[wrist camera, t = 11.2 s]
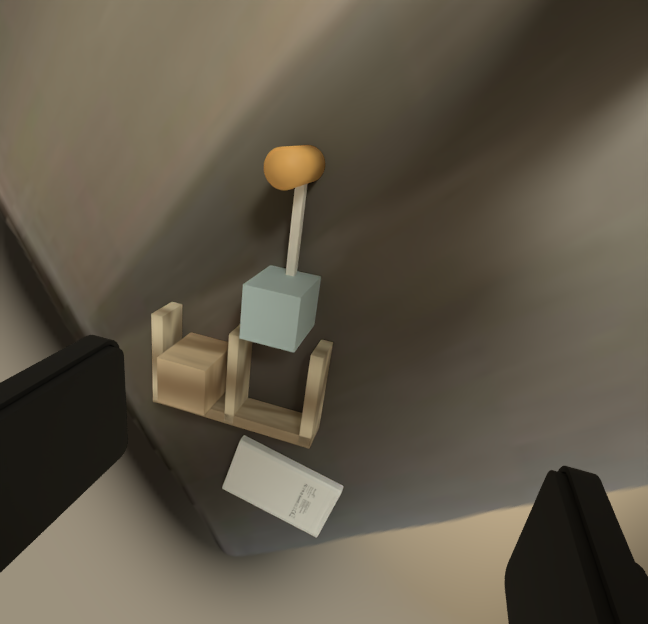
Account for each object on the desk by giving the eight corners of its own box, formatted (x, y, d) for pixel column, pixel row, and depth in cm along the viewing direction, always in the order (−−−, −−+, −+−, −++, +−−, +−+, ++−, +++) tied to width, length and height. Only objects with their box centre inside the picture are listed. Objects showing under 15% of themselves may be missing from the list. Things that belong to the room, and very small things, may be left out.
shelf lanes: (172, 301, 46) (151, 313, 43) (333, 342, 43) (323, 358, 40) (171, 384, 50) (153, 401, 47) (319, 427, 47) (309, 448, 44)
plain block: (191, 332, 47) (156, 357, 42) (234, 343, 46) (205, 370, 41) (190, 372, 49) (157, 401, 44) (232, 384, 48) (203, 415, 43)
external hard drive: (245, 431, 51) (345, 482, 49) (227, 480, 54) (319, 529, 53) (239, 440, 49) (341, 493, 48) (221, 489, 53) (315, 540, 52)
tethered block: (281, 140, 37) (252, 141, 32) (339, 149, 37) (318, 152, 31) (265, 313, 44) (239, 338, 38) (314, 325, 43) (294, 352, 38)
